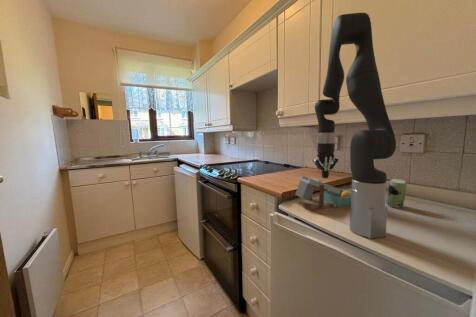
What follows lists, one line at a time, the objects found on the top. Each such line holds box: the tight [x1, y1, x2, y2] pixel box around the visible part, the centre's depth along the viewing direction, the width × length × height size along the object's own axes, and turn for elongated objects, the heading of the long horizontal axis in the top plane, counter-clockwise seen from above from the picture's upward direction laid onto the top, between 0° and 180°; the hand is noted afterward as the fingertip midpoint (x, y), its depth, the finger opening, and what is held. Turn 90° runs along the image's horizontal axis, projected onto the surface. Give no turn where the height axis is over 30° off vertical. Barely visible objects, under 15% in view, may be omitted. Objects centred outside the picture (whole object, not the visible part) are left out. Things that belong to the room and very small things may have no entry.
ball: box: [341, 190, 351, 197], centre depth 95 cm, size 4×4×4 cm
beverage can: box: [385, 178, 408, 209], centre depth 86 cm, size 6×7×12 cm
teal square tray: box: [324, 188, 351, 208], centre depth 94 cm, size 12×12×4 cm
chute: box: [295, 175, 342, 201], centre depth 93 cm, size 17×12×10 cm
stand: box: [297, 185, 335, 211], centre depth 90 cm, size 12×10×10 cm
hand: (325, 178), depth 97 cm, fingers closed
